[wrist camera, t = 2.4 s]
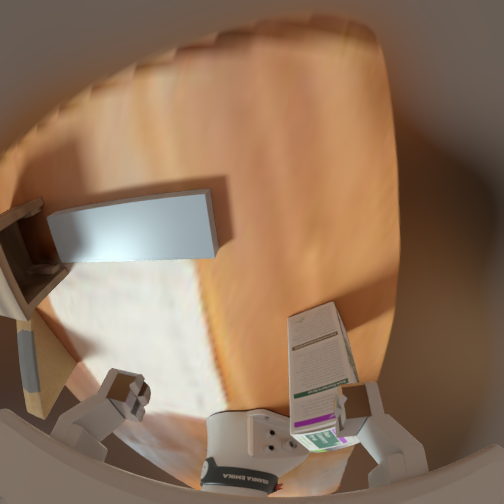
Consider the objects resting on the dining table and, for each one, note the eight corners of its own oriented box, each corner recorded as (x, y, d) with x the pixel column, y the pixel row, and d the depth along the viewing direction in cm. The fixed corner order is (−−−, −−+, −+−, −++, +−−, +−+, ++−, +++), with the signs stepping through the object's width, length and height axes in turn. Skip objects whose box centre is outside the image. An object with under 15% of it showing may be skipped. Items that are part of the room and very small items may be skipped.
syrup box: (285, 317, 29) (284, 437, 17) (335, 298, 28) (361, 419, 15) (303, 347, 32) (308, 455, 19) (349, 331, 30) (372, 440, 17)
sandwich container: (31, 300, 34) (-17, 355, 21) (78, 362, 41) (45, 420, 28) (15, 306, 36) (-26, 354, 23) (58, 362, 43) (27, 412, 29)
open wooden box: (46, 195, 25) (-14, 230, 16) (72, 274, 30) (27, 321, 21) (9, 208, 26) (-39, 239, 17) (33, 274, 31) (-6, 313, 22)
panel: (211, 186, 24) (204, 194, 22) (219, 246, 27) (214, 258, 25) (58, 209, 26) (46, 217, 24) (72, 253, 29) (61, 262, 27)
